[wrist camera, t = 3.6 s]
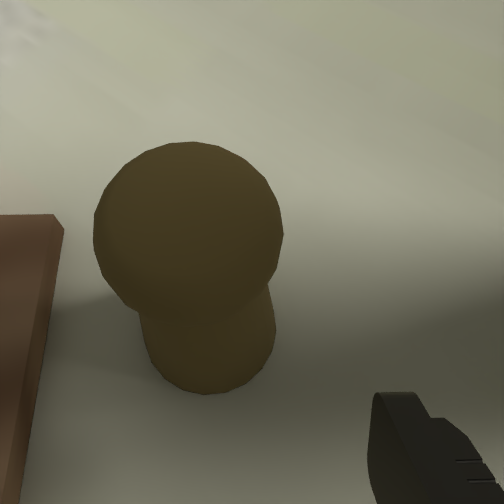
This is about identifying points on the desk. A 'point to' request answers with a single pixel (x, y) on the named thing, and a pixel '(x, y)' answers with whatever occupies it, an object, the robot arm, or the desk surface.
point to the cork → (194, 261)
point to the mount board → (23, 332)
